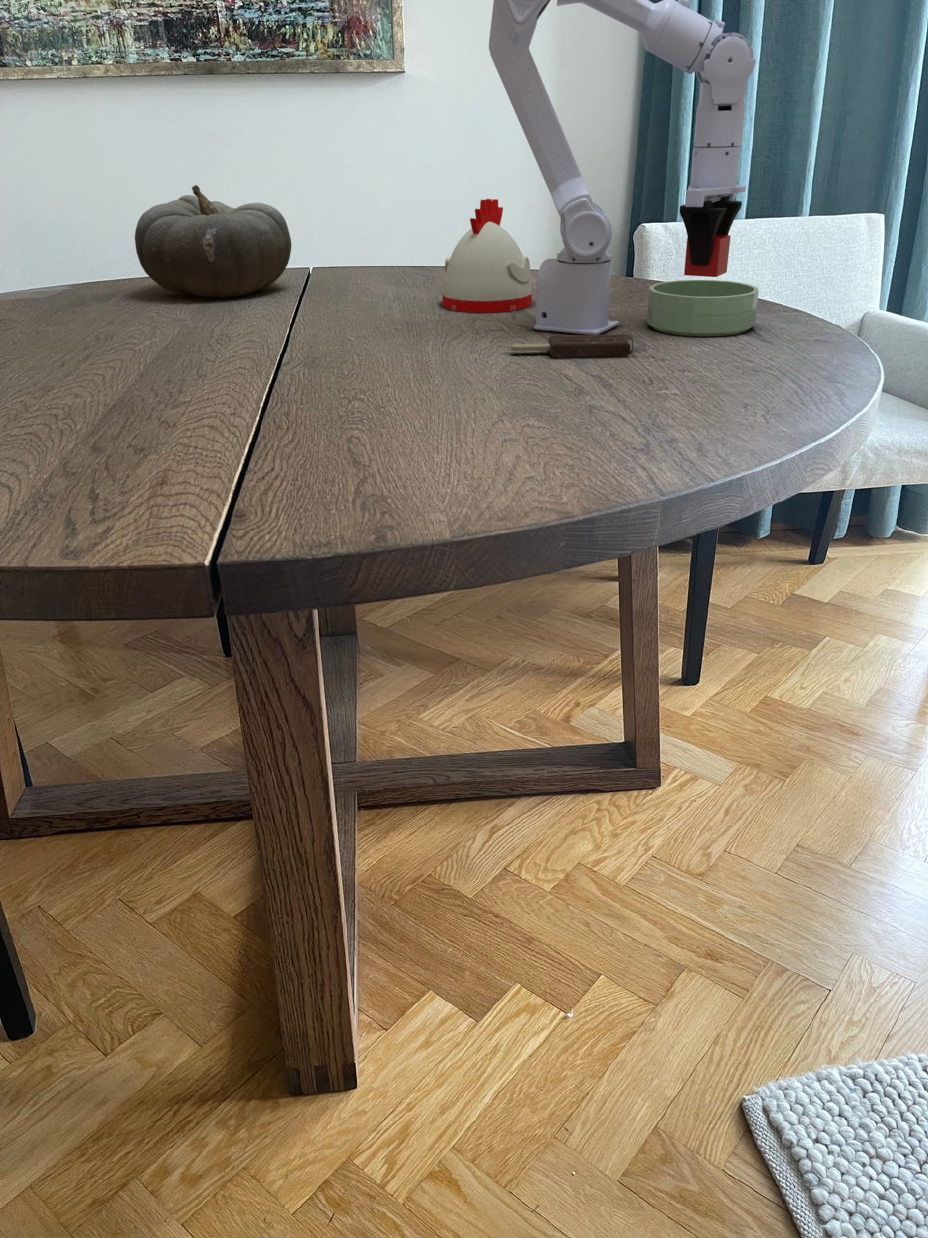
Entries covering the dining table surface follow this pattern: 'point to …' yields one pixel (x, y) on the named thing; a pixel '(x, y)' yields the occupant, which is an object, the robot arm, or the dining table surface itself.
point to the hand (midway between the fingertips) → (705, 262)
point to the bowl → (702, 307)
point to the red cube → (711, 259)
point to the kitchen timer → (487, 267)
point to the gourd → (212, 246)
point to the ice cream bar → (583, 346)
